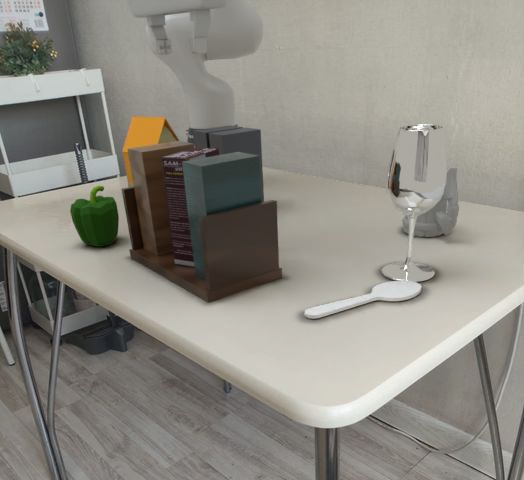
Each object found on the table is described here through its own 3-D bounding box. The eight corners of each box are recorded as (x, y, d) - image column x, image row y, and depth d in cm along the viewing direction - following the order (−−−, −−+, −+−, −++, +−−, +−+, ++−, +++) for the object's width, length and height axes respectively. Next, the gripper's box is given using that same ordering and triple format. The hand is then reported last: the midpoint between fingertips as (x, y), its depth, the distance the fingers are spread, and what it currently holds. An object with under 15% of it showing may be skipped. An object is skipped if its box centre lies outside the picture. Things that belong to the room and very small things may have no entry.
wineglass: (401, 287, 74) (415, 133, 64) (370, 269, 80) (378, 127, 70) (446, 276, 76) (466, 127, 67) (412, 260, 83) (426, 121, 73)
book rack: (130, 257, 90) (111, 149, 82) (196, 240, 97) (184, 138, 88) (208, 302, 73) (193, 170, 64) (282, 277, 79) (278, 154, 71)
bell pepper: (85, 253, 93) (72, 196, 88) (73, 242, 100) (60, 188, 95) (131, 243, 97) (121, 188, 92) (116, 233, 103) (106, 180, 98)
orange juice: (162, 217, 112) (147, 113, 102) (193, 222, 107) (181, 114, 97) (134, 227, 106) (115, 118, 96) (166, 233, 102) (150, 120, 92)
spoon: (295, 308, 69) (295, 305, 69) (405, 279, 76) (405, 276, 75) (316, 324, 65) (316, 321, 65) (431, 292, 72) (431, 288, 71)
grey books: (201, 209, 116) (192, 130, 108) (235, 201, 120) (229, 125, 112) (229, 219, 108) (222, 135, 100) (264, 210, 112) (260, 129, 105)
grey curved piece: (429, 222, 99) (436, 155, 93) (471, 240, 89) (482, 166, 84) (393, 228, 97) (398, 160, 91) (432, 247, 87) (441, 172, 81)
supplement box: (200, 268, 80) (187, 158, 72) (173, 265, 82) (158, 157, 74) (229, 250, 87) (220, 147, 79) (204, 247, 89) (193, 146, 81)
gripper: (236, -93, 58) (244, 51, 65) (152, -62, 73) (166, 53, 80) (186, -98, 55) (201, 54, 62) (108, -64, 70) (127, 56, 77)
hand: (180, 54), depth 71 cm, fingers open, 8 cm apart
